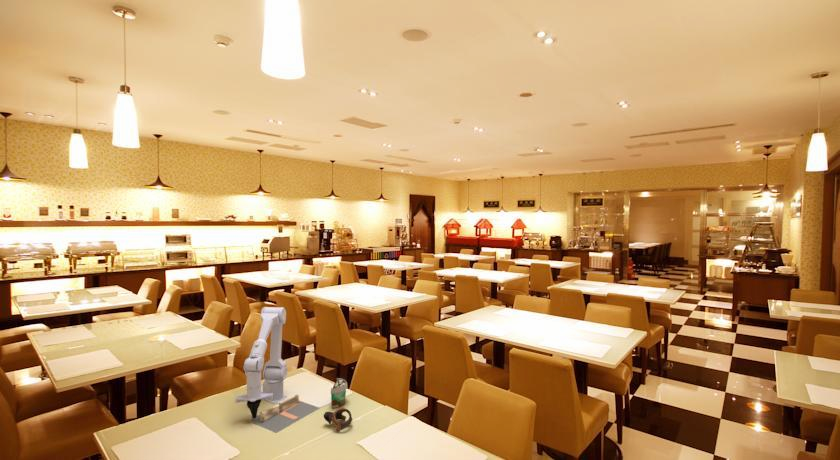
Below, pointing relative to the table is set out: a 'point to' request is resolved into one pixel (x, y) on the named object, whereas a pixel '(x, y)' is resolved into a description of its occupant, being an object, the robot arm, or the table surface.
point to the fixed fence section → (288, 403)
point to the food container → (338, 393)
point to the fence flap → (269, 413)
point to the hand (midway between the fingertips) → (254, 417)
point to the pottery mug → (338, 418)
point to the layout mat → (285, 417)
